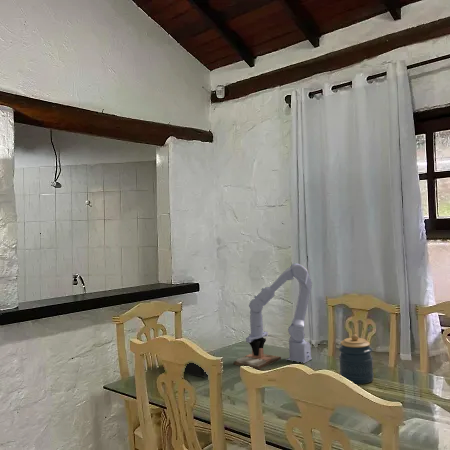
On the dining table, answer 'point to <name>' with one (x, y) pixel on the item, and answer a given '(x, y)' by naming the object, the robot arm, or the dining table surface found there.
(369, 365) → the canister
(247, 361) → the ticket board
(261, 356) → the stub
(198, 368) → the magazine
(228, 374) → the dining table surface
